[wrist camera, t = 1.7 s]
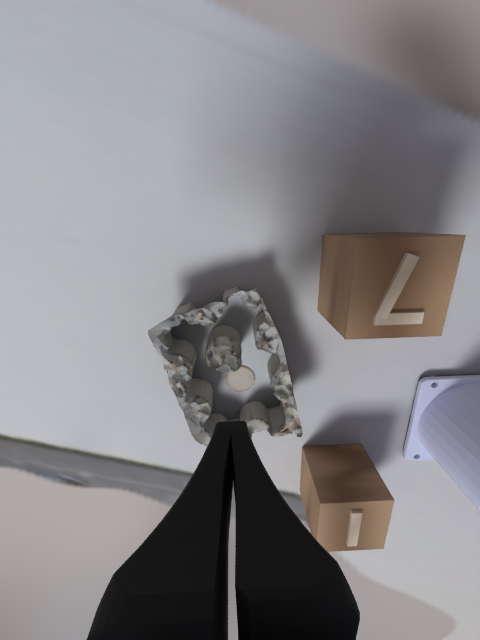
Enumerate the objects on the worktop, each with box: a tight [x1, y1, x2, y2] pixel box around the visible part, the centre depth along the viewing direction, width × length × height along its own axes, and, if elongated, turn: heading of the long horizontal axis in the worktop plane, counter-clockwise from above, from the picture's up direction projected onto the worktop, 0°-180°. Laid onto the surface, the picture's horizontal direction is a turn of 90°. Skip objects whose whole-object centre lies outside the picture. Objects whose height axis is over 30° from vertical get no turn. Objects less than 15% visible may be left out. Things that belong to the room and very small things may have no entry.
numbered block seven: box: [318, 232, 466, 340], centre depth 15 cm, size 5×5×5 cm
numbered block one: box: [300, 444, 394, 552], centre depth 21 cm, size 5×5×5 cm
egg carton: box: [148, 287, 302, 446], centre depth 18 cm, size 11×8×4 cm
